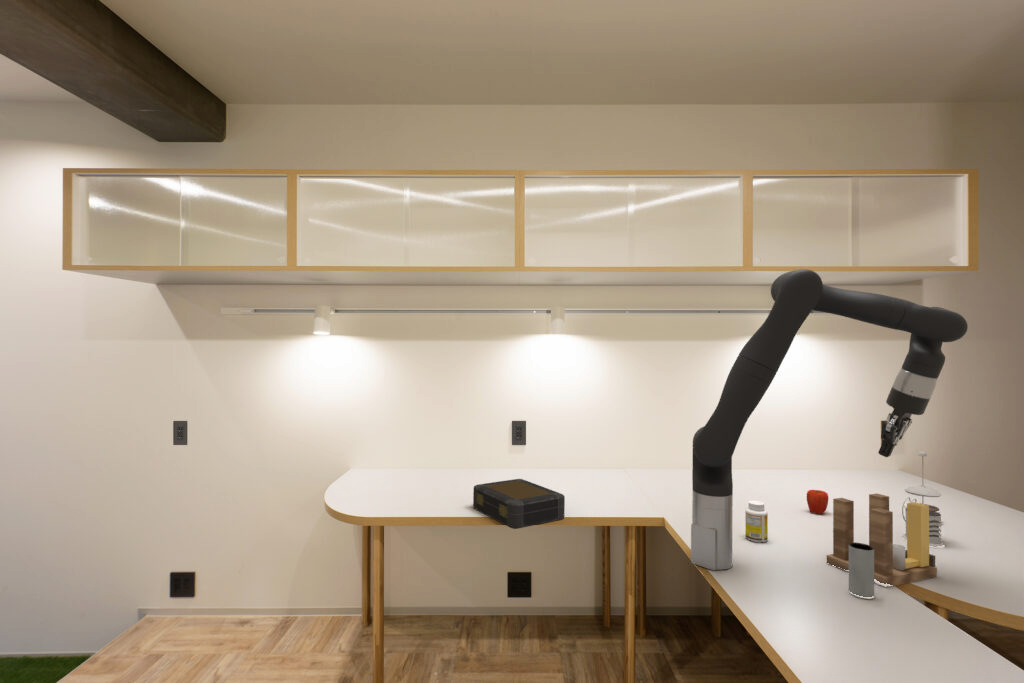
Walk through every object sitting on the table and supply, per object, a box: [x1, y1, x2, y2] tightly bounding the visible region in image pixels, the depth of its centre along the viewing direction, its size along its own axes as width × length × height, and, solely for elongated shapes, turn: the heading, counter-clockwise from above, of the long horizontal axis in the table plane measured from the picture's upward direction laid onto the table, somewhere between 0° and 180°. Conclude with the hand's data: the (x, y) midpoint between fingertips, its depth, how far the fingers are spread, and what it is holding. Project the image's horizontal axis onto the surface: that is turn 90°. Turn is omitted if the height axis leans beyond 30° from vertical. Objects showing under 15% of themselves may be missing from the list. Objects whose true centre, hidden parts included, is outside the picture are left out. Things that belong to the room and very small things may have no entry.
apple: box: [806, 489, 829, 515], centre depth 168 cm, size 6×6×8 cm
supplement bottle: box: [744, 500, 769, 543], centre depth 142 cm, size 6×6×10 cm
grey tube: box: [848, 541, 875, 597], centre depth 110 cm, size 4×4×10 cm
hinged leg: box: [893, 501, 930, 570], centre depth 120 cm, size 10×3×14 cm, turn 112°
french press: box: [901, 451, 945, 547], centre depth 143 cm, size 10×12×25 cm
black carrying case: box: [472, 478, 566, 530], centre depth 163 cm, size 25×20×8 cm
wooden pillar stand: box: [826, 493, 938, 587], centre depth 123 cm, size 18×14×16 cm
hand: (883, 455), depth 126 cm, fingers closed
